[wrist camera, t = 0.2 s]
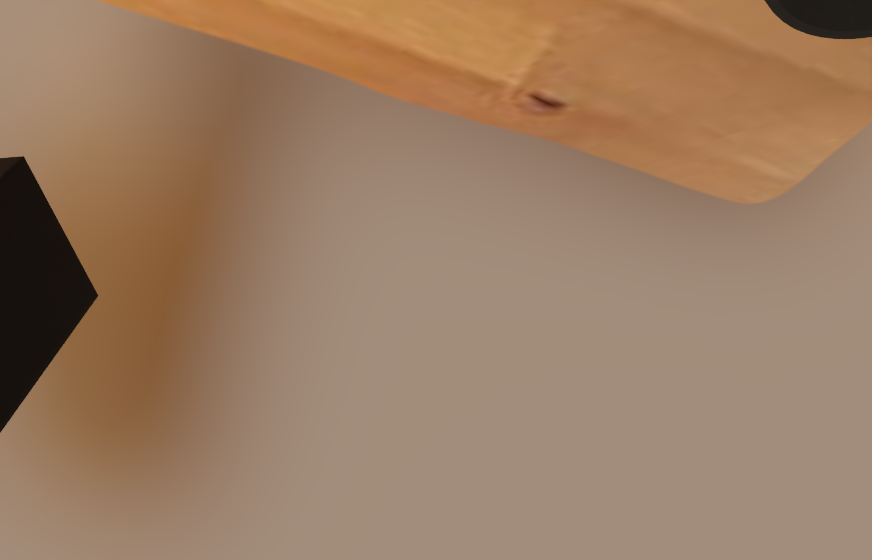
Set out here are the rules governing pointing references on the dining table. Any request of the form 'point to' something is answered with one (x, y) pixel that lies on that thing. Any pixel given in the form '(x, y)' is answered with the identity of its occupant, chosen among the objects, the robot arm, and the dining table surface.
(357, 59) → the dining table surface
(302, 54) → the dining table surface
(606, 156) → the dining table surface
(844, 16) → the pen holder
